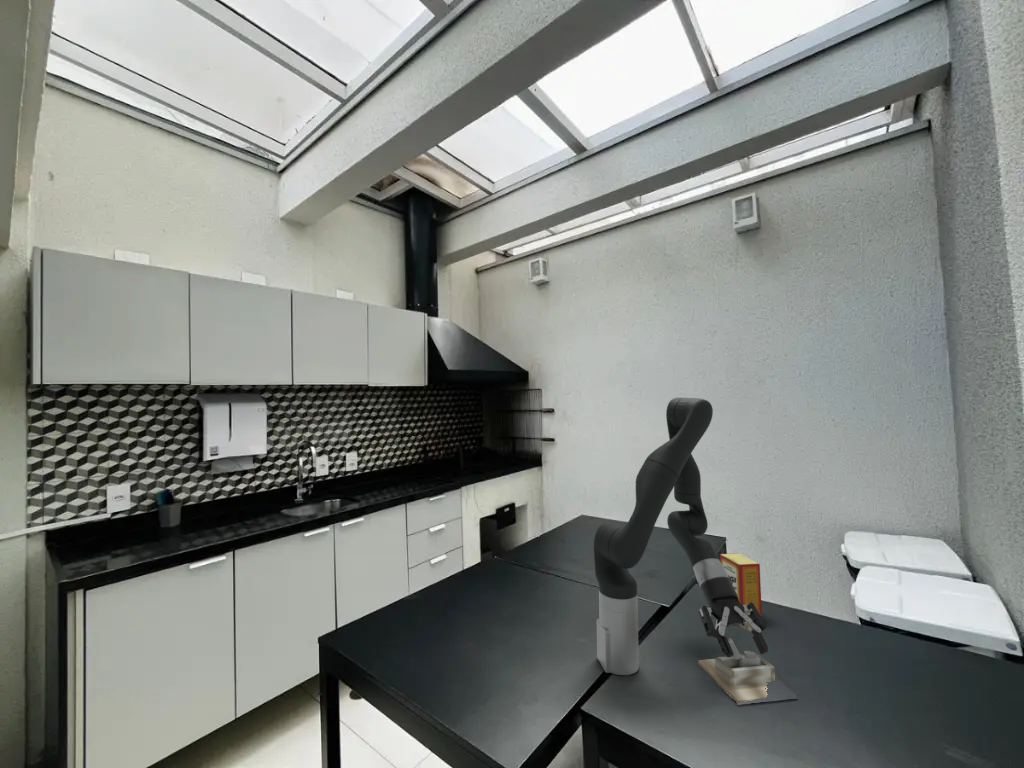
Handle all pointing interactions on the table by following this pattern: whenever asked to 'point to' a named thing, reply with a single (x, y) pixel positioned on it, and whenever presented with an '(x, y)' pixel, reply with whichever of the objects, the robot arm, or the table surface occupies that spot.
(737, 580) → the baking soda box
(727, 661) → the holder
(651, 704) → the table surface
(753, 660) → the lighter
